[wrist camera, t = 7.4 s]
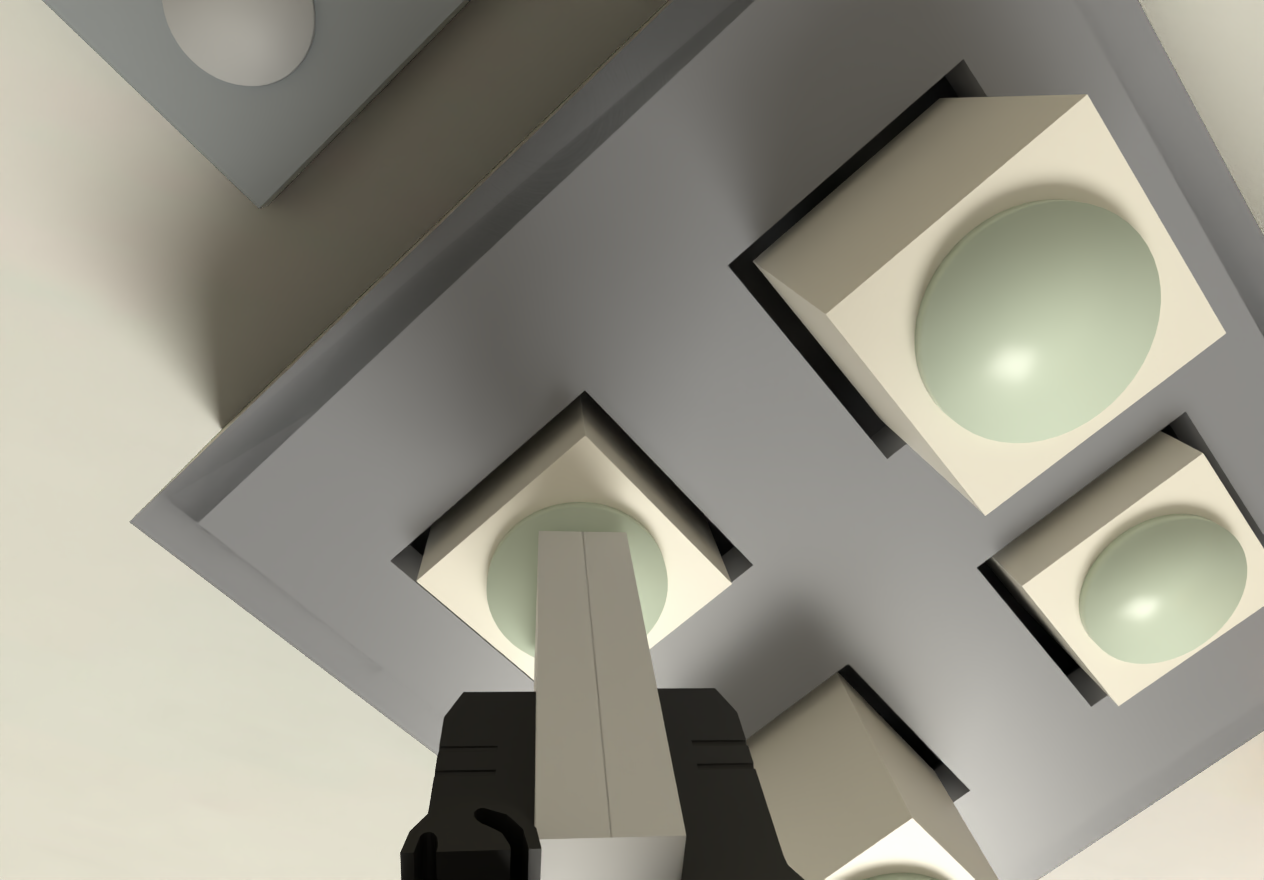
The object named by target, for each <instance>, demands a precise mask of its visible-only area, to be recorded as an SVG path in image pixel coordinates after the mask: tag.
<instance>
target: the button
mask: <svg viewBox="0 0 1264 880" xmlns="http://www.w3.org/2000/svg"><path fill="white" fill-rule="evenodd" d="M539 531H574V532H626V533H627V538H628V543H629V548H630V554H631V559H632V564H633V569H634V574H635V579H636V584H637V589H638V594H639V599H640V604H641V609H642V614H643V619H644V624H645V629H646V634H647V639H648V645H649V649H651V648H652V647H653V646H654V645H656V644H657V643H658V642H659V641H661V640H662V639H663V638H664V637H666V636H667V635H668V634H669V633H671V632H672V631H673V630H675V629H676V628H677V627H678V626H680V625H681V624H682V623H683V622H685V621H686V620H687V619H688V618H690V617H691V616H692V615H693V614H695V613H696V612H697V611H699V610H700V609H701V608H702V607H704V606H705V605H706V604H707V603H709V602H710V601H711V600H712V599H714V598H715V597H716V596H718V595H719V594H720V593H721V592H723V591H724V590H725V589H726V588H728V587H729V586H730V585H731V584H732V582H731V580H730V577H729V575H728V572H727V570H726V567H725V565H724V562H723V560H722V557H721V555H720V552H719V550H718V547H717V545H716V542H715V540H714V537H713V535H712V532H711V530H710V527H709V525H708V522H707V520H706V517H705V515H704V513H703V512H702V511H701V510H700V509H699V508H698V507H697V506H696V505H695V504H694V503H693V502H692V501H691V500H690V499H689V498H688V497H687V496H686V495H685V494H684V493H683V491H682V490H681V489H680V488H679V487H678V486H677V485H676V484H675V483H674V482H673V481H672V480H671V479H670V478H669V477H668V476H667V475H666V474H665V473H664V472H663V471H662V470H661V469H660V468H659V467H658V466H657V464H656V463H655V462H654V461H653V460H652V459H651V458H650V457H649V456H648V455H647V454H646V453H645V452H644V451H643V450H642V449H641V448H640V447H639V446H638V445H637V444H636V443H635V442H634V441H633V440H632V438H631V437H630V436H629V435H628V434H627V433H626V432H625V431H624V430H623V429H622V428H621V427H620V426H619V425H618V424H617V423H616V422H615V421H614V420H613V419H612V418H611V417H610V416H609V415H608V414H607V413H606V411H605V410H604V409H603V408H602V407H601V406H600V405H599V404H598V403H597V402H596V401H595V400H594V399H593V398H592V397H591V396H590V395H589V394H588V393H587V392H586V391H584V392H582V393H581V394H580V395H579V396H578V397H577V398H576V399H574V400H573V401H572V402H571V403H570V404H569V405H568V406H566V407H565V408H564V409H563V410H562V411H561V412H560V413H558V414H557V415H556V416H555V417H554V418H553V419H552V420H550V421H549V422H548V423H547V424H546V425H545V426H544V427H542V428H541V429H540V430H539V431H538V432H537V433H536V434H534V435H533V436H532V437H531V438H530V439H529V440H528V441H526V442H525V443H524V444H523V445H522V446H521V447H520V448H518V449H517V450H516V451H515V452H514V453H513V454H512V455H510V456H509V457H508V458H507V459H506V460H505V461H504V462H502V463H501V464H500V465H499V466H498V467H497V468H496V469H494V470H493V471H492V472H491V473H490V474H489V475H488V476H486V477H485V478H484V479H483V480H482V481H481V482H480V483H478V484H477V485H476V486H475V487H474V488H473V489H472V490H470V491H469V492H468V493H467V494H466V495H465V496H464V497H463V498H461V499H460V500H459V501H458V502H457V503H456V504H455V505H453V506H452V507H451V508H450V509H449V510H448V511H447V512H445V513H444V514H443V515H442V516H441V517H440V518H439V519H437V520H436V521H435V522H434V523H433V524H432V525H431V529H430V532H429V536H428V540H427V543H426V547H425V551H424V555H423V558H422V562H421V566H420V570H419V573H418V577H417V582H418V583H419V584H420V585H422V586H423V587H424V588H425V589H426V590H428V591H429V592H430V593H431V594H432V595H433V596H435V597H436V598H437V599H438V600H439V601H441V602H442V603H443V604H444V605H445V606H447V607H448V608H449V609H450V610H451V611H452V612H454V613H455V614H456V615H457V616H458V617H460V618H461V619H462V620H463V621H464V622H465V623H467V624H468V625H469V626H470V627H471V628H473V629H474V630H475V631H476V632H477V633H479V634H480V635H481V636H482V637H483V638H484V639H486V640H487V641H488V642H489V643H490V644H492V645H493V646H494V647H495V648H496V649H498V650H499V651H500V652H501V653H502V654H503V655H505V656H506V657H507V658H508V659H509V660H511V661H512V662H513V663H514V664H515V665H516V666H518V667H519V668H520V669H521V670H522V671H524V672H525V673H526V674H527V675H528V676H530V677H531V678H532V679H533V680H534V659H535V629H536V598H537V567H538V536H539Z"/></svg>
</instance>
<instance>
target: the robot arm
mask: <svg viewBox="0 0 1264 880" xmlns="http://www.w3.org/2000/svg"><path fill="white" fill-rule="evenodd" d="M753 764H754V763H753V759H752V756H751V753H750V750H749V747H748V745H746V738H745V735H744V732H743V728H742V725H741V722H740V719H739V716H738V713H737V711H736V710H735V709H734V708H733V707H732V706H731V705H730V704H729V703H728V702H727V700H726V699H725V698H724V697H723V696H722V695H721V694H720V693H719V692H718V691H717V690H716V689H715V688H657V685H656V680H655V675H654V670H653V665H652V660H651V655H650V650H649V645H648V639H647V634H646V629H645V624H644V619H643V614H642V609H641V604H640V599H639V594H638V589H637V584H636V579H635V574H634V569H633V564H632V559H631V554H630V548H629V543H628V538H627V533H626V532H574V531H539V536H538V567H537V598H536V629H535V659H534V692H463V693H462V694H461V696H460V697H459V698H458V700H457V701H456V702H455V703H454V705H453V706H452V707H451V709H450V710H449V711H448V712H447V714H446V715H445V716H444V720H443V726H442V732H441V738H440V744H439V752H438V756H437V763H436V769H435V777H434V781H433V787H432V793H431V799H430V805H429V811H428V814H427V815H426V816H425V817H424V818H423V819H422V820H421V821H420V822H419V823H418V824H417V825H416V826H415V827H414V828H413V829H412V830H411V831H410V832H409V834H408V836H407V839H406V841H405V843H404V846H403V848H402V850H401V852H400V857H401V880H804V879H803V878H802V877H801V876H800V875H799V874H798V873H796V872H795V871H794V870H793V869H792V868H791V867H790V866H789V865H788V864H787V862H786V860H785V858H784V855H783V852H782V849H781V846H780V843H779V840H778V837H777V834H776V831H775V828H774V824H773V821H772V818H771V815H770V812H769V809H768V806H767V803H766V800H765V797H764V793H763V790H762V787H761V784H760V781H759V778H758V775H757V772H756V769H754V765H753Z"/></svg>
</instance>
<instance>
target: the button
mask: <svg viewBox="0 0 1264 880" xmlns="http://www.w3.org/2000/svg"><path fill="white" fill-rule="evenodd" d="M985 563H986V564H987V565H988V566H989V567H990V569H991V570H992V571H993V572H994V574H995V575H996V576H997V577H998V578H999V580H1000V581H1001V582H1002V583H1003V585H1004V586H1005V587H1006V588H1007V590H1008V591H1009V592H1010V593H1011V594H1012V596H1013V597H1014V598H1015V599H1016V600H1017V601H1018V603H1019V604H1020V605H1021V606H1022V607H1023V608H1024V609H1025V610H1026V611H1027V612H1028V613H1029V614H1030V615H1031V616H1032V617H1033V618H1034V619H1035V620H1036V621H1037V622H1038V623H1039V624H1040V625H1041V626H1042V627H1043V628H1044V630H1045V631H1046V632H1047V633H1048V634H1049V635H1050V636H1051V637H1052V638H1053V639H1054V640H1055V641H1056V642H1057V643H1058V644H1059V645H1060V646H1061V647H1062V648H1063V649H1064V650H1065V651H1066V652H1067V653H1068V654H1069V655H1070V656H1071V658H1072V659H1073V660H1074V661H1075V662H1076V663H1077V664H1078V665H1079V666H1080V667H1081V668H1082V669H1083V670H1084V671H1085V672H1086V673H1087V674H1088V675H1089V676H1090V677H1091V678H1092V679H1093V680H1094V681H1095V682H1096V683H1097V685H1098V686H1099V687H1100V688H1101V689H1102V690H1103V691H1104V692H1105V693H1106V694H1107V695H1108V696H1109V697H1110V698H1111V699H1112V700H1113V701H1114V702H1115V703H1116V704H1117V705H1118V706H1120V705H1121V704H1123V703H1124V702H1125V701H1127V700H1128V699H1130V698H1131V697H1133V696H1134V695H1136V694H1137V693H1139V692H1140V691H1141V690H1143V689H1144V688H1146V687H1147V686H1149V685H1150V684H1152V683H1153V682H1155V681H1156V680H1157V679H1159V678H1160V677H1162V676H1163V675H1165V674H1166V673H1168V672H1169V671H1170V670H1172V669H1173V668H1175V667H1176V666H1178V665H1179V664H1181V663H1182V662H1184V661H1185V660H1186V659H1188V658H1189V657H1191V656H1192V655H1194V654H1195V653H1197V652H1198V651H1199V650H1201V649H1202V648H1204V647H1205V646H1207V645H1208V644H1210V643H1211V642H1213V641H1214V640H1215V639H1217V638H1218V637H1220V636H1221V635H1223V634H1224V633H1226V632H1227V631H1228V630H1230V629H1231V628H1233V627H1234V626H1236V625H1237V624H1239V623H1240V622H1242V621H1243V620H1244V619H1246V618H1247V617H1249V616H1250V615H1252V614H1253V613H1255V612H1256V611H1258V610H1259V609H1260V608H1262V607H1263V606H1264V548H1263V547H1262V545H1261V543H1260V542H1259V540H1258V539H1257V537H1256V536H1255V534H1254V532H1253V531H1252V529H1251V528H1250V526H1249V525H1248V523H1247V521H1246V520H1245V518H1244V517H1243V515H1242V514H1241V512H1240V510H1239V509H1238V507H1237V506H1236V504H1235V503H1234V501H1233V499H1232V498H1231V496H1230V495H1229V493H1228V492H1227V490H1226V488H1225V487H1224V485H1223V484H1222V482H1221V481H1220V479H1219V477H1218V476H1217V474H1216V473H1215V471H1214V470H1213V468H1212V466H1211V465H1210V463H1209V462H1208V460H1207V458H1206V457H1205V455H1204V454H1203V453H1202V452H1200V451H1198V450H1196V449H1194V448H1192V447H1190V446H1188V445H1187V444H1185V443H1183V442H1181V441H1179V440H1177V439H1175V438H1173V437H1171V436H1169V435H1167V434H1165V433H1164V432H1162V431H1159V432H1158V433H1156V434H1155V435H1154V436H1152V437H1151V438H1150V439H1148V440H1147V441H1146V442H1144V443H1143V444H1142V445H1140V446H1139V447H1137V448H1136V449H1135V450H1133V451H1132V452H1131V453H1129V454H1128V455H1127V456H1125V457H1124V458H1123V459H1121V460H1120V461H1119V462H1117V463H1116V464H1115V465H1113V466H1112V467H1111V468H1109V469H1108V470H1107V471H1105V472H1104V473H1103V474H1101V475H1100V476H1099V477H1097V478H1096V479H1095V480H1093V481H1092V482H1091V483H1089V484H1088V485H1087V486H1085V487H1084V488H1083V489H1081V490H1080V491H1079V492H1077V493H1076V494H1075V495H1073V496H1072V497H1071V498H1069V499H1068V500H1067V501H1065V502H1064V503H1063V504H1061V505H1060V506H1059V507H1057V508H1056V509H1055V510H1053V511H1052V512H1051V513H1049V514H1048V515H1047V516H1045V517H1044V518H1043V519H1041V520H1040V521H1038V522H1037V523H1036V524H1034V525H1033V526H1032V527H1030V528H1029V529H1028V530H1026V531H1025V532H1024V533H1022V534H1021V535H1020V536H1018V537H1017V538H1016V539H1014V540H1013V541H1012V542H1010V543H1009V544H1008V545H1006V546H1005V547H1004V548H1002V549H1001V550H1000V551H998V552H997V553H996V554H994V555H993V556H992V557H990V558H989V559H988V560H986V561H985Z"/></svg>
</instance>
